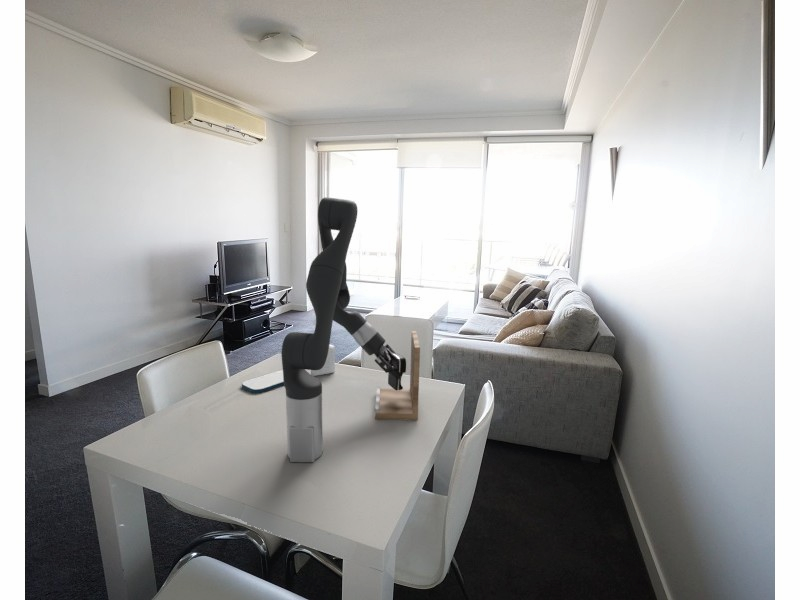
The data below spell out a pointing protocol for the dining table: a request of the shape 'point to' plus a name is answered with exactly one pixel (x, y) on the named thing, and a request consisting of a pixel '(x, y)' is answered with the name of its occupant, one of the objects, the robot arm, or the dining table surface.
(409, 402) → the shelf
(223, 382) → the dining table surface
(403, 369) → the battery charger
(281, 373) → the external hard drive
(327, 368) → the photo printer
